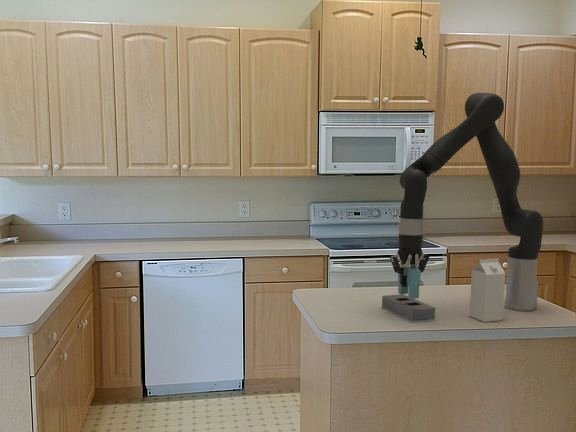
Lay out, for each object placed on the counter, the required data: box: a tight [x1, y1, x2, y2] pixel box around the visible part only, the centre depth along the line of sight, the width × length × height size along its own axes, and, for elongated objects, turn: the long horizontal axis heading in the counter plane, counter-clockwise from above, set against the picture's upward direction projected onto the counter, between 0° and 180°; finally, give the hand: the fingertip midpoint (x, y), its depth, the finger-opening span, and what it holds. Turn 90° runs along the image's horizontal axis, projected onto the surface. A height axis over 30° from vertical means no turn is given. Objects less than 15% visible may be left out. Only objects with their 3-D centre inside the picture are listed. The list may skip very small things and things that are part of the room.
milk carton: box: [469, 258, 506, 323], centre depth 178 cm, size 7×7×19 cm
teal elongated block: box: [397, 265, 422, 299], centre depth 182 cm, size 8×3×9 cm, turn 21°
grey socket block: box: [381, 294, 436, 324], centre depth 183 cm, size 18×8×4 cm, turn 21°
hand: (408, 285), depth 182 cm, fingers closed on teal elongated block, 3 cm apart
